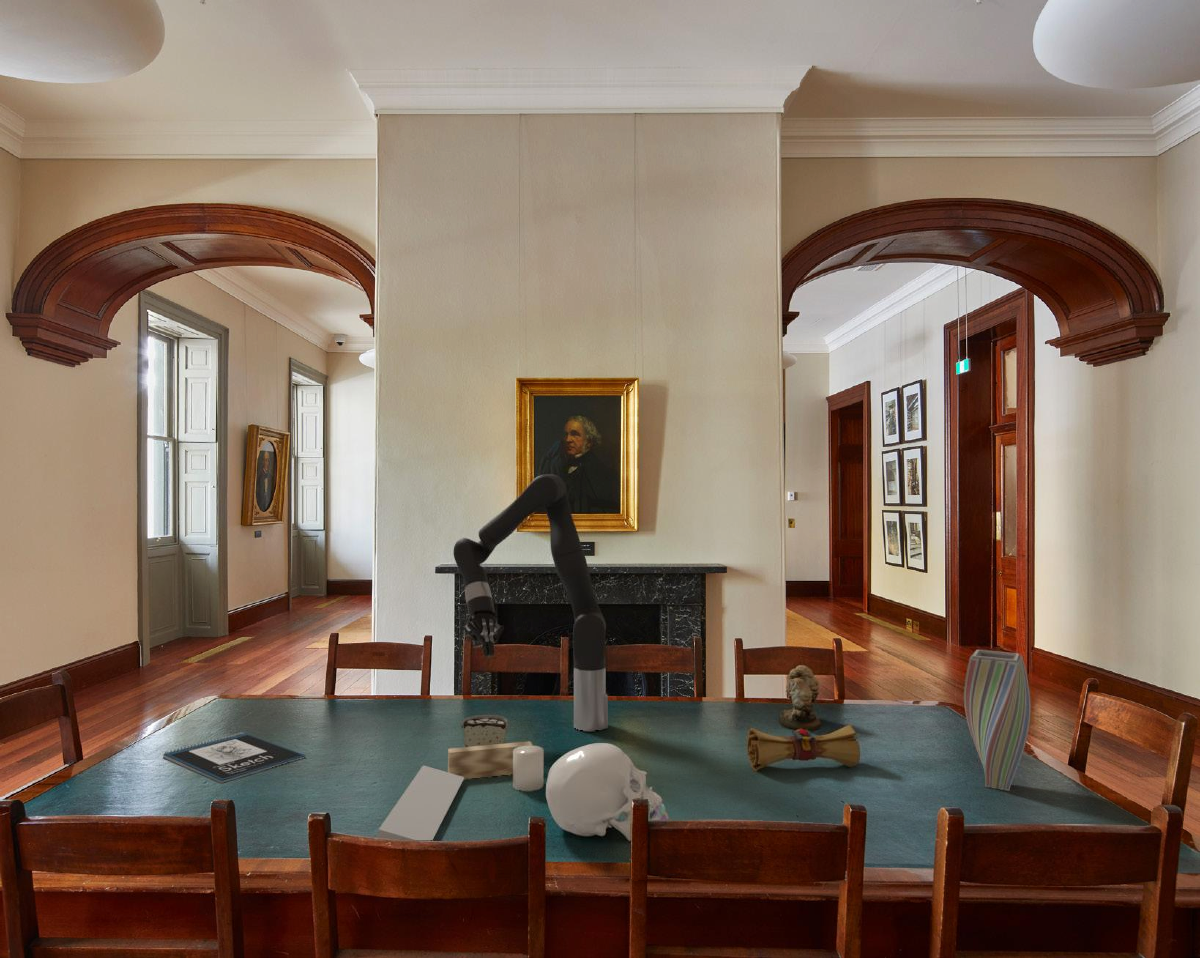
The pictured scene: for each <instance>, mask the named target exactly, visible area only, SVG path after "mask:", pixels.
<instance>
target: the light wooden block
mask: <svg viewBox="0 0 1200 958" xmlns="http://www.w3.org/2000/svg"><path fill="white" fill-rule="evenodd" d="M520 746H534V745H533V743H532V742H531V741H530V740H529V741H519V742H509V743H508V742H507V743H506V742H505V744H495V745H484V746H473V747H465V746H463V747H452V748H451V747H450V748H448V749H447V772H448V773H452V774H455V775H459V776H462V777H464V779H465V780H464V779H463V781H467V780H466V779H469V780H472V779H471V778H479V777H488V778H493V777H492V776H498V777H502V776H501V775H508V776H512V775H511V774H513V750H514V749H515V748H517V747H520ZM479 779H480V778H479Z"/></svg>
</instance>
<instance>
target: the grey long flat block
mask: <svg viewBox="0 0 1200 958" xmlns="http://www.w3.org/2000/svg"><path fill="white" fill-rule="evenodd" d="M463 779H464V777H462V776H459V775H455V774H452V773H448V771H444V770H441V769H437V768H433V767H430V766H428V765H422V766H421V768H420V769H419V770H418V772H417V774H416V775H415V776H414V778H413V779H412V781H411V782H410V783H409V784H408V787H407V788H406V790H405V791H404V792H403V793H402V795H401V797H400V798H399V799H398V801H397V802H396V804H395V805H394V807H393V808H392V810H391V811H390V812H389V814H388V815H387V817H386V818H385V820H384V821H383V822H382V824H381V825H380V826H379V828H378V831H377V835H376V837H380V838H392V839H404V840H432V841H433V840H434V837H435V836H436V834H437V833H438V830H439V828H440V827H441V824H442V822H443V820H444V818H445V817H446V815H447V812H448V811H449V809H450V806H451V805H452V803H453V801H454V799H455V797H456V795H457V793H458V791H459V789H460V787H461V785H462V783H463V782H464V780H463Z"/></svg>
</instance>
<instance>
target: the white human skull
mask: <svg viewBox="0 0 1200 958" xmlns="http://www.w3.org/2000/svg"><path fill="white" fill-rule="evenodd" d="M646 775H648V773H647V772H646V771H644V770H640V769H638V768H637V767H636V766H635V765H634V762H633V761H632V760H631V758H630V757H629V756H628V754H625V752H624V751H623V750H622V749H621V748H619V747H618V746H616V745H614V744H612V743H608V742H607V743H606V742H595V743H590V744H586V745H583V746H580V747H577V748H574V749H572V750H570V751H568V752H566V753H564V754H563V755H562V756H561V757H559V758H558V759H557V760H556V761H555V762H554V763H553V764H552V766H551V767H550V769H549V771H548V774H547V779H546V785H545V798H546V802H547V806H548V809H549V812H550V814H551V816H552V818H553V820H554V822H555V823H556V824H557V825H558V826H559V828H560V829H562V830H563V831H566V832H568V833H572V834H573V835H576V836H582V837H592V836H595V835H597V836H599V837H603V836H605V835H606V833H607V830H606V829H607V828H610V829H611V828H612V827H613V828H615V829H616V830H617V831H619V833H621V834H622V835H623V836H624V837H625V838H626V839H627V840H628V841H629V842H630V823H631V806H632V799H635V798H643V799H648V801H649V804H650V819H649V820H660V819H668V820H669V817H670V816H669V815H668V812H666V807H665V806H666V805H664V804H663V803H662V802H663V798H662V796H660V795H659V794H658V793H656V792H655V791H653V786H651V787H648V785H647V784H646V783H647V777H646ZM621 814H622V815H623V816H624V818H625V820H623V821H622V820H621V821H620V820H619V821H618V820H617V819H620V818H619V817H620V816H621Z"/></svg>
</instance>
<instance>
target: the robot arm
mask: <svg viewBox="0 0 1200 958" xmlns="http://www.w3.org/2000/svg"><path fill="white" fill-rule="evenodd" d="M567 491H568V489H567V487H566V483H565V481H564V480H563V478H561V477H560V476H559V475H557V474H553V473H546V474H539V475H537V476H536V477H535V478H533V480H532V481H531V482H530V483H529V484H528V486H527V487H525V489H524V490H523V491H522V493H521V494H519V495H518V496H517V498H515V500H513V502H511V503H510V504H509V505H508V506H507V507H506V508H505V509H503V510H502V511H500V512H499V514H497V515H496V516H494V517H493V518H492V519H491V520H489V522H487V523H486V524H484V526H482V527H481V528H480V529H479V530H478V538H479V541H476V540H473V539H470V538H467V537H465V538H464V537H463V538H460V539H458V540H456V542H455V544H454V547H453V558H454V562H455V563H456V566H457V568H458V570H459V573H460V574H461V576H462V581H463V586H464V587H463V588H464V592H465V593H464V596H465V602H466V608H467V612H468V613H467V614H468V618H469V622H468V623H467V624H465V625H464V626H463V630H464V631H465V632H466V633H467V635H469V636H470V639H472V640H473V641H474V642H475V643H476V644H477V643H478V644H480V645H481V647H482V652H483V655H484V657H485V658H492V657H493V656H494V655H495V647H494V644H495V643H496V642H497V641H498V640H499V639H500V638H501V636H502V633H503V631H504V629H505V626H504V625H503V624H501V625H500V624H498V621H497V619H496V617H495V611H496V610H495V606H494V602H493V596H492V592H491V588H490V586H489V581H488V576H487V571H486V569H485V568H484V567H483V566H482V565H481V564H483V563H485V562H486V561H487V560H488V559H489V557H490V556H491V554H492V553H493V552H494V550H495V548H496V547H497V546H498V545H500V543H502V542H503V541H504V540H506V539H507V538H508V537H510V536H511V535H512V534H513V533H514V532H515V531H516V530H517V529H518V528H519V526H520V525H521V524H522V523H523V522H524V521H525V520H526V519H527V518H528V517H530V516H531V515H532V514H534V513H536V512H538V511H539V510H540V509H543V508H544V510H545V513H546V516H547V519H548V523H549V528H550V529H549V537H550V542H549V543H550V552H551V553H550V554H551V557H552V559H553V563H554V567H555V569H556V573H557V575H558V577H559V579H560V582H561V584H562V587H563V588H564V590H565V591H566V593H567V595H568V598H569V600H570V604H571V609H572V612H573V618H574V624H573V627H572V628H573V629H572V630H573V632H572V650H573V651H572V655H573V656H572V657H573V728H574V729H575V728H576V730H577V729H578V730H577V731H580V730H583V731H582V732H596V731H595V730H599V731H602V730H605V729H608V728H609V727H608V723H609V722H608V721H609V720H608V718H609V716H608V715H609V713H608V712H609V711H608V710H609V709H608V707H609V706H608V697H609V696H608V694H607V692H606V678H607V676H606V674H607V673H606V667H607V666H606V630H607V624H606V620H605V618H604V616H603V613H602V611H601V608H600V606H599V603H598V601H597V599H596V596H595V593H594V591H593V585H592V579H591V575H590V570H589V566H588V563H587V559H586V558H587V557H586V555H585V551H584V549H583V546H582V543H581V540H580V536H579V534H578V530H577V527H576V525H575V521H574V519H573V515H572V511H571V507H570V501H569V496H568V492H567Z"/></svg>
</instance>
